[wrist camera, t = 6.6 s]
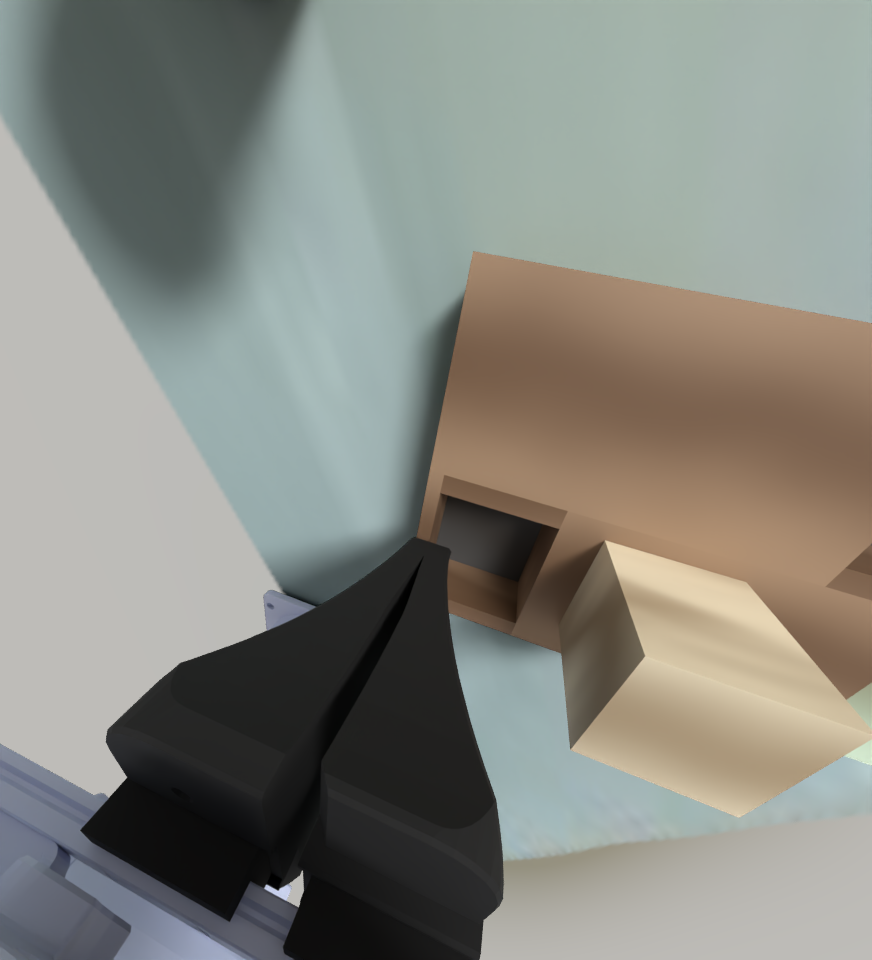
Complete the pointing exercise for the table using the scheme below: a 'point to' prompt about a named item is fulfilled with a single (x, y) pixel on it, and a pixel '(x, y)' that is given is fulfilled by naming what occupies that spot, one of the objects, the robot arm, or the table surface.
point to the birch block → (695, 684)
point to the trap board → (655, 453)
